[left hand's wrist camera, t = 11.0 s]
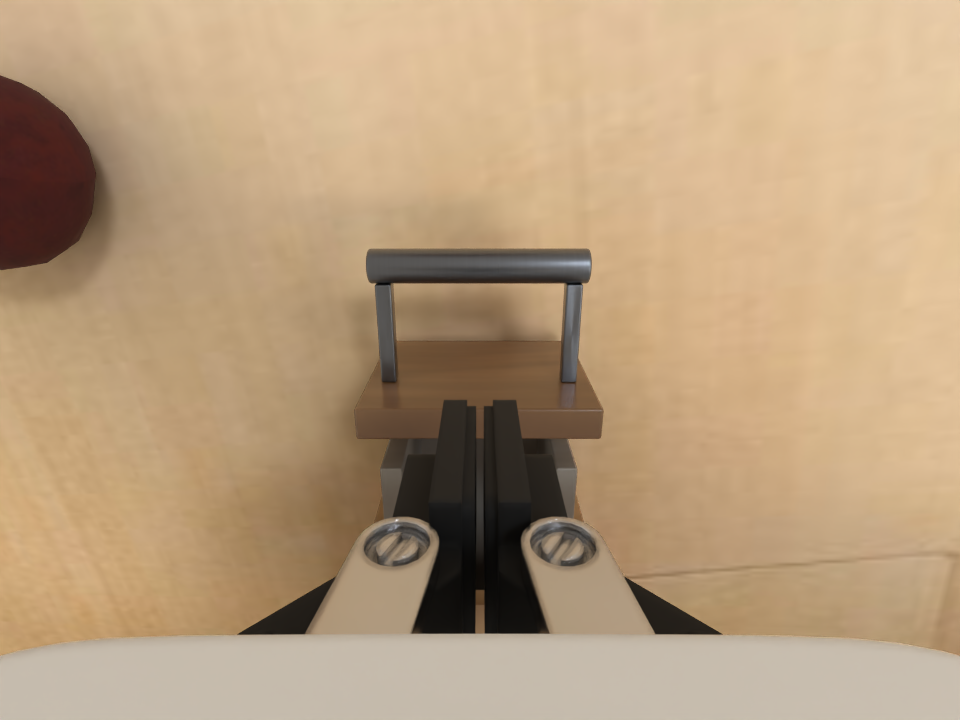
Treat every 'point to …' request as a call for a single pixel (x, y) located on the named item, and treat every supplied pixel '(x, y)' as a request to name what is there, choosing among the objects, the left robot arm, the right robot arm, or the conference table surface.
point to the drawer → (478, 368)
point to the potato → (40, 178)
